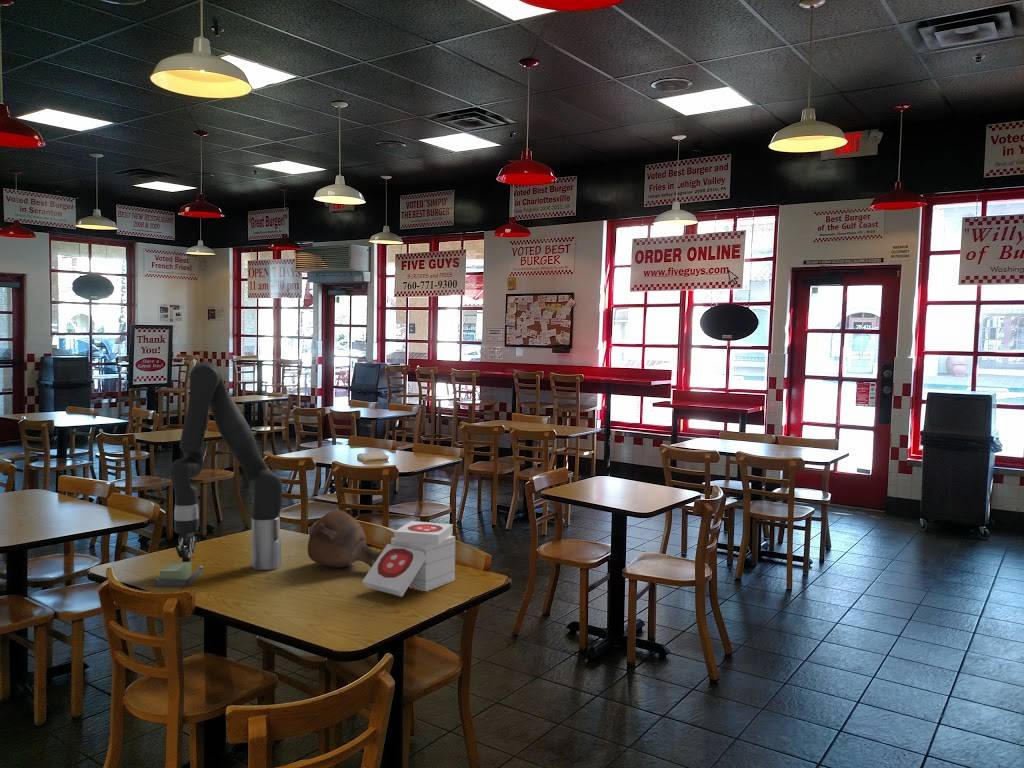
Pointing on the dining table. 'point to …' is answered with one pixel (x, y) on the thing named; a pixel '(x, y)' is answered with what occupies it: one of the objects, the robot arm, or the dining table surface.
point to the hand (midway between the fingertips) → (186, 568)
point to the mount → (179, 580)
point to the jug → (339, 541)
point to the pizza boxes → (415, 559)
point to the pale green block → (176, 571)
